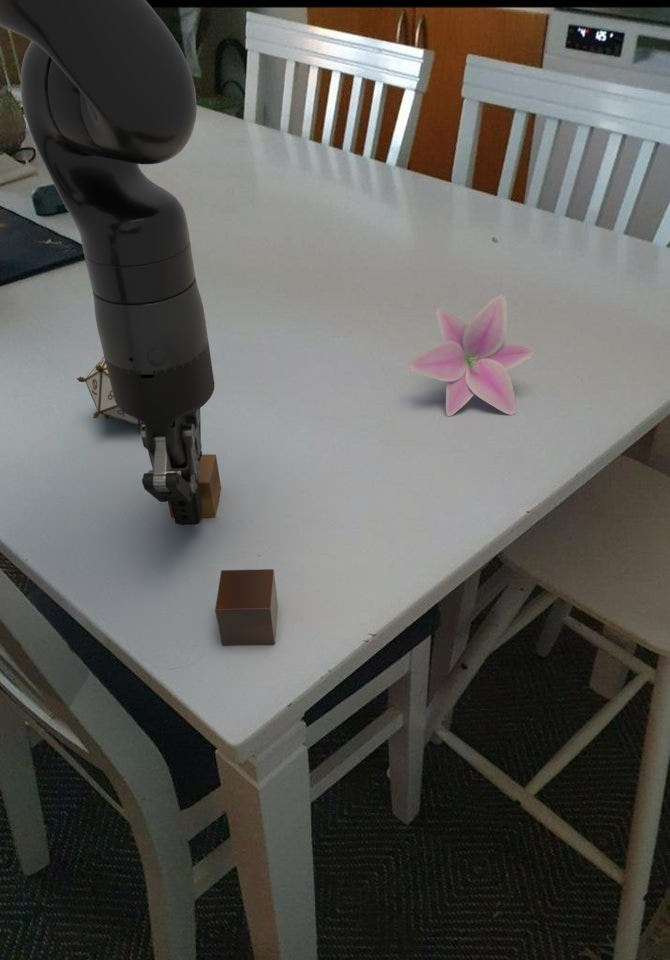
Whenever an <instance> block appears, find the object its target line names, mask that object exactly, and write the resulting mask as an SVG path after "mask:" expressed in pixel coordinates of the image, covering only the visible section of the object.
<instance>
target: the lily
mask: <svg viewBox="0 0 670 960" xmlns="http://www.w3.org/2000/svg"><path fill="white" fill-rule="evenodd" d="M435 311H436V318H437V323H438V328H439V332H440V336H441V339H442V342H439V343H437V344H434V345H433V346H431V347H429V348H427V349H426V350H424V351H422V352H420V353H419V354H417V355H415V356H414V357H412V359H410V360H409V361H408V362H407V363H406V368H407V369H408V370H409V371H412V372H413V373H416V374H419V375H422V376H425V377H427V378H431V379H434V380H438V381H441V382H445V383H446V390H445V414H446V416H447V417H451V416H453V415H454V414H456V413H457V412H458V411H459V410H461V408H463V407H464V406H465V405H466V404H467V403H468V402H469V401H470V400H471V398H472V397H474V395H475V396H477V398H479V399H480V400H482V401H484V402H485V403H487V404H488V405H491V406H492V407H494V408H495V409H497V410H499V411H500V412H502V413H504V414H506V415H509V416H515V414H516V412H517V409H516V408H517V404H516V398H515V392H514V387H513V383H512V379H511V376H510V374H509V372H508V370H511V369H514V368H515V367H517V366H519V365H521V364H522V363H524V362H526V361H527V360H529V359H530V358H532V357H533V356H534V354H535V351H534V350H533V349H532V348H531V347H527V346H525V345H522V344H520V343H515V342H513V341H508V340H505V338H506V334H507V328H508V327H507V326H508V303H507V297H506V296H505V295H504V294H498V295H497V296H495V297H494V298H493V299H491V300H490V301H489V302H488V303H487V304H486V305H485V306H483V308H481V309H480V310H479V312H478V313H476V315H474V316H473V317H472V318H471V320H470V321H469V322H468V323H467V322H466V321H464V320H463V319H462V318H461V317H459V316H458V315H456V314H455V313H453V312H451V311H449V310H448V309H446V308H443V307H436V310H435Z"/></svg>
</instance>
